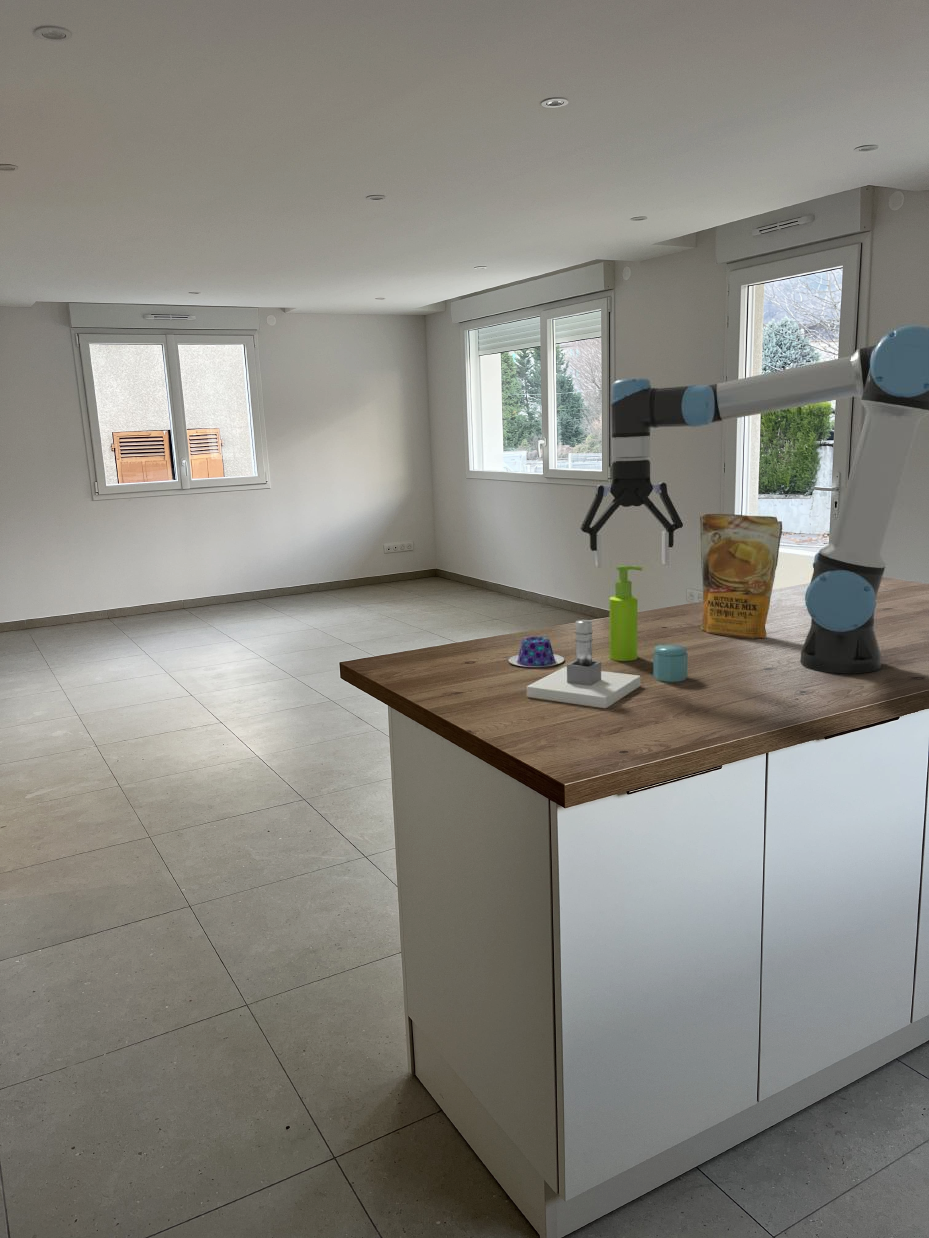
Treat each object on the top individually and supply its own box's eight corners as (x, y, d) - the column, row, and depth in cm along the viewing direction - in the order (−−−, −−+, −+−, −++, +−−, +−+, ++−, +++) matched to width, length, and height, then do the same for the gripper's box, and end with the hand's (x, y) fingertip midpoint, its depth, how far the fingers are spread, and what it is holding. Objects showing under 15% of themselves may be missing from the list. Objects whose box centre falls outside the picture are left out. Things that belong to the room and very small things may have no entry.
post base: (640, 685, 173) (640, 658, 172) (605, 708, 160) (605, 678, 159) (565, 676, 181) (564, 649, 180) (526, 696, 168) (526, 668, 167)
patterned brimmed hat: (518, 672, 187) (518, 648, 186) (501, 659, 198) (500, 636, 197) (572, 666, 190) (572, 642, 189) (552, 654, 201) (552, 631, 200)
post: (595, 672, 170) (595, 620, 168) (588, 676, 168) (587, 623, 166) (580, 670, 172) (579, 619, 170) (572, 674, 169) (572, 622, 167)
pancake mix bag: (704, 626, 222) (706, 512, 216) (779, 635, 209) (784, 515, 204) (691, 631, 217) (693, 515, 211) (767, 641, 204) (772, 517, 199)
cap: (690, 675, 179) (690, 646, 177) (679, 683, 174) (680, 653, 172) (661, 672, 182) (661, 643, 181) (649, 679, 177) (649, 649, 176)
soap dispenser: (642, 661, 191) (642, 567, 187) (609, 660, 192) (608, 568, 188) (642, 654, 196) (642, 563, 192) (610, 654, 198) (610, 564, 194)
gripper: (689, 456, 183) (688, 559, 187) (566, 461, 183) (568, 565, 187) (698, 456, 175) (697, 565, 180) (570, 462, 175) (572, 570, 180)
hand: (631, 565), depth 183 cm, fingers open, 13 cm apart
